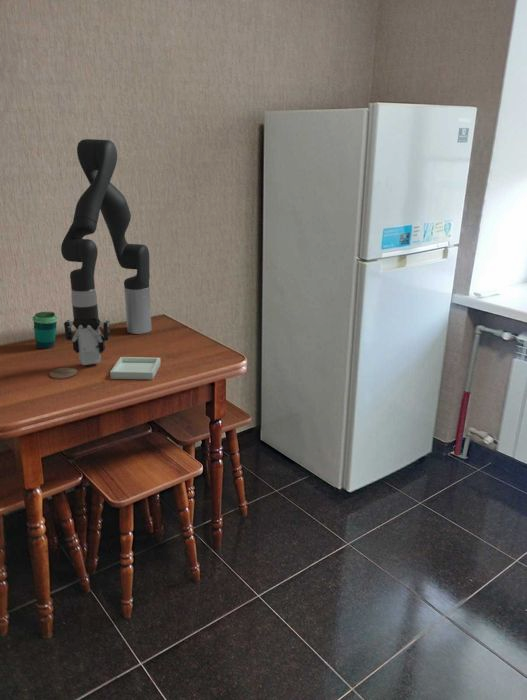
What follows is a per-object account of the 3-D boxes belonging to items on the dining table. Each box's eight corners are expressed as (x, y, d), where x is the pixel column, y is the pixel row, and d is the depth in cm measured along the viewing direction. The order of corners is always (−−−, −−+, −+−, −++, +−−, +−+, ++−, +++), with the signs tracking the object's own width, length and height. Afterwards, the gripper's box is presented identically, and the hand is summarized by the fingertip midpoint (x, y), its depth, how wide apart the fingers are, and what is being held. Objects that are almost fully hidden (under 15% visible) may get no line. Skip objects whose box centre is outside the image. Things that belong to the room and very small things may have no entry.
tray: (121, 363, 186) (120, 357, 186) (160, 363, 186) (160, 357, 186) (110, 378, 174) (110, 371, 173) (152, 379, 174) (152, 372, 173)
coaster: (55, 369, 181) (55, 367, 181) (80, 369, 181) (80, 367, 181) (46, 378, 173) (45, 376, 173) (72, 379, 173) (72, 377, 173)
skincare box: (83, 365, 181) (79, 329, 177) (79, 361, 185) (75, 326, 180) (102, 362, 184) (98, 326, 180) (97, 357, 188) (94, 323, 184)
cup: (46, 341, 206) (42, 309, 201) (65, 344, 203) (61, 312, 199) (31, 348, 198) (26, 315, 194) (50, 351, 196) (46, 318, 192)
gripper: (110, 300, 181) (114, 348, 187) (65, 299, 181) (71, 347, 187) (104, 306, 174) (108, 356, 180) (57, 305, 174) (63, 356, 180)
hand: (89, 352), depth 183 cm, fingers closed on skincare box, 7 cm apart
